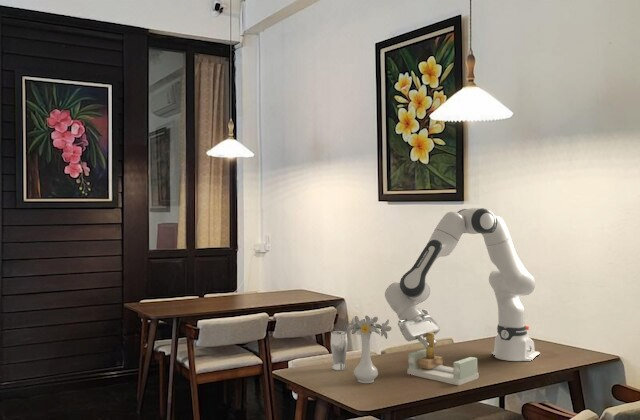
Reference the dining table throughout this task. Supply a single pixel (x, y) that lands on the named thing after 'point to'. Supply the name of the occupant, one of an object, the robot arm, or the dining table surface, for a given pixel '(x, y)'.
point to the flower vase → (367, 346)
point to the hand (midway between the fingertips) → (431, 345)
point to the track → (444, 369)
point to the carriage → (430, 355)
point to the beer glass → (339, 350)
